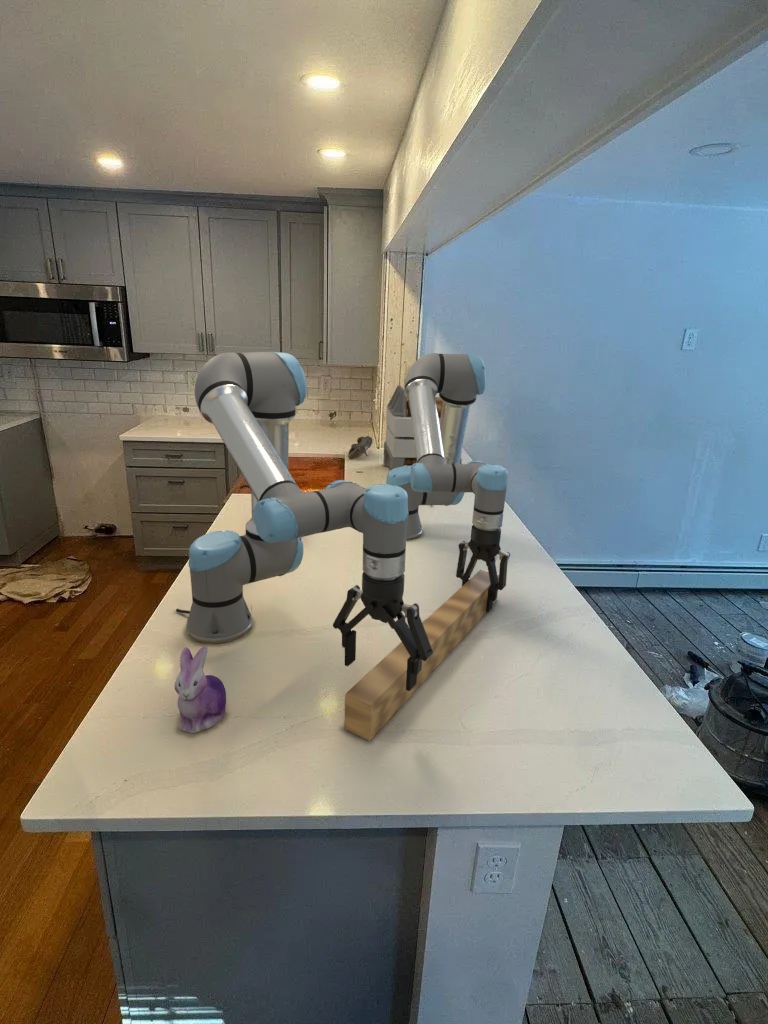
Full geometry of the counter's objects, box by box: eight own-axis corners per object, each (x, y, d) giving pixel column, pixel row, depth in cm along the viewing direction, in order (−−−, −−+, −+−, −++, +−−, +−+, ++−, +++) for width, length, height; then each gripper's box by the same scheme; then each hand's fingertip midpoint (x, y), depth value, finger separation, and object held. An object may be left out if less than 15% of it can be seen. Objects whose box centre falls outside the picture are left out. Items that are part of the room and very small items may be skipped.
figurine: (181, 742, 101) (174, 672, 96) (173, 708, 110) (166, 641, 105) (234, 727, 105) (230, 658, 100) (222, 695, 114) (218, 630, 109)
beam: (477, 595, 159) (480, 569, 156) (496, 601, 156) (499, 575, 154) (344, 728, 107) (344, 693, 104) (369, 741, 104) (371, 705, 101)
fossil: (348, 442, 312) (369, 426, 307) (359, 455, 315) (380, 440, 310) (341, 456, 292) (364, 439, 287) (353, 470, 295) (376, 454, 290)
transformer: (382, 463, 289) (386, 382, 275) (445, 464, 293) (451, 384, 279) (390, 482, 257) (394, 392, 243) (460, 483, 261) (468, 394, 247)
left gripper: (314, 562, 103) (315, 662, 110) (437, 599, 91) (429, 709, 98) (338, 549, 109) (337, 644, 116) (456, 582, 97) (448, 686, 104)
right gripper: (447, 522, 146) (440, 601, 154) (517, 539, 137) (506, 623, 145) (459, 514, 152) (451, 591, 160) (527, 530, 143) (515, 610, 151)
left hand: (379, 674), depth 107 cm, fingers open, 13 cm apart
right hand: (477, 606), depth 152 cm, fingers closed on beam, 6 cm apart
